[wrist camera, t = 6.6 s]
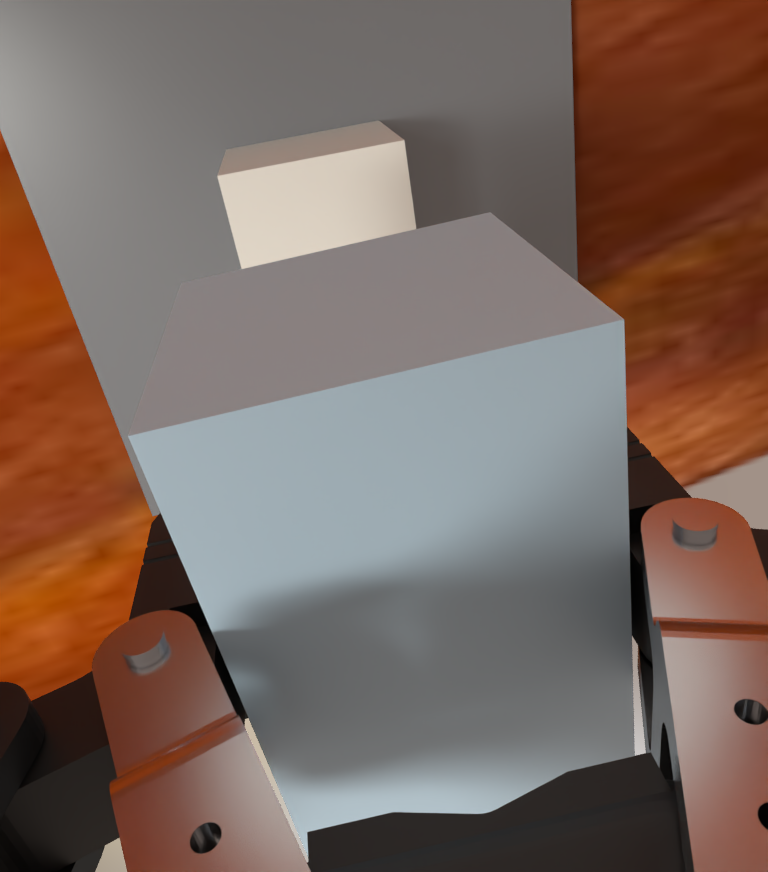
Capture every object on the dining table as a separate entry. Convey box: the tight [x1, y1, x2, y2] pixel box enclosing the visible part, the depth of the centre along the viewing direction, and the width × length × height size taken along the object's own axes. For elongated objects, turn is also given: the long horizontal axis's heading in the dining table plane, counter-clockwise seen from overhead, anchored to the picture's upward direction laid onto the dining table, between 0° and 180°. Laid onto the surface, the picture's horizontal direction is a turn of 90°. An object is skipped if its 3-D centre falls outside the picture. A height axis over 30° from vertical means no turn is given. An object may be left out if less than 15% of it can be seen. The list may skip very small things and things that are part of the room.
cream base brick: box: [217, 121, 416, 269], centre depth 23 cm, size 8×5×5 cm, turn 9°
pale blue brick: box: [128, 212, 635, 856], centre depth 11 cm, size 8×5×5 cm, turn 11°
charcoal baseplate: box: [0, 0, 578, 516], centre depth 26 cm, size 18×18×1 cm
